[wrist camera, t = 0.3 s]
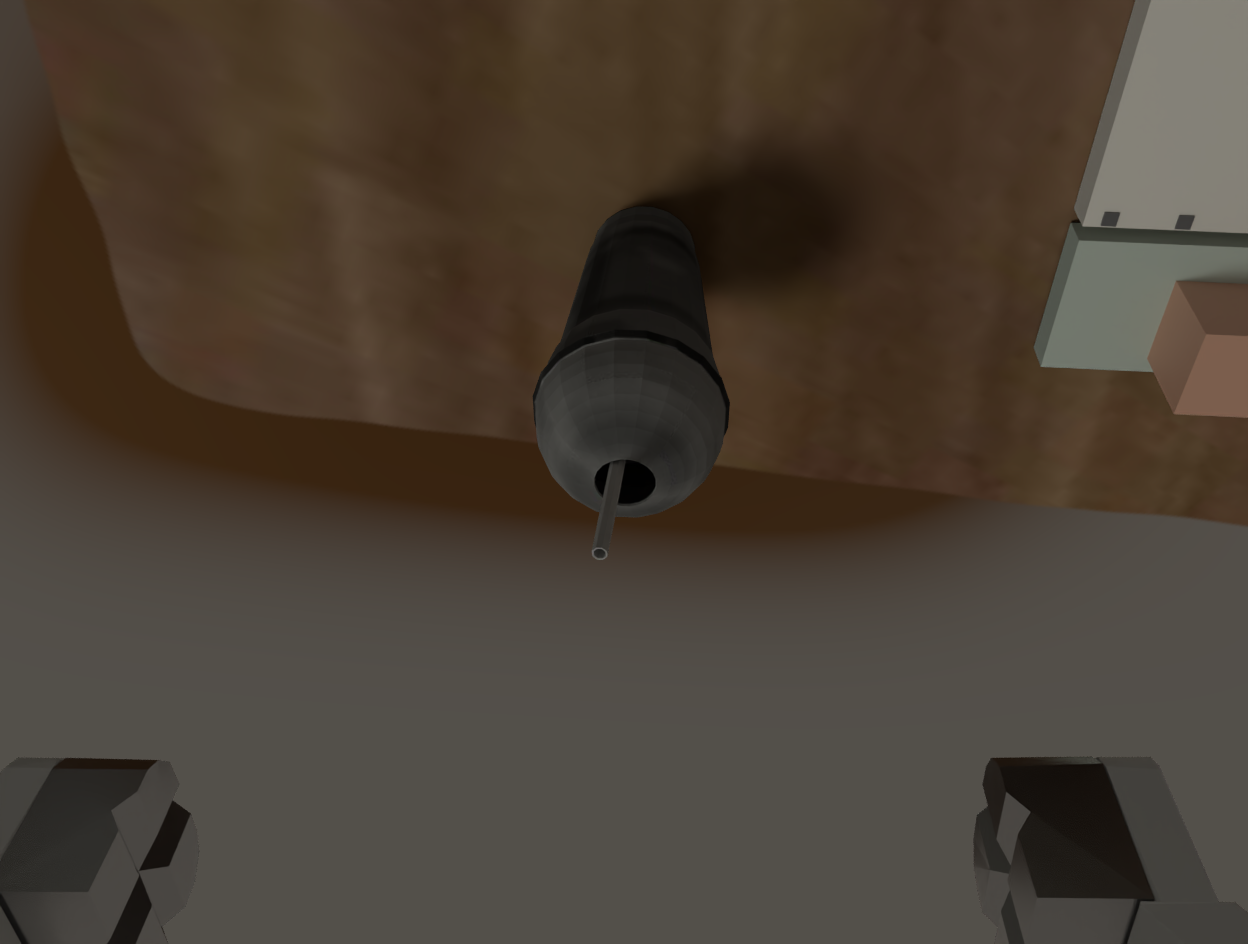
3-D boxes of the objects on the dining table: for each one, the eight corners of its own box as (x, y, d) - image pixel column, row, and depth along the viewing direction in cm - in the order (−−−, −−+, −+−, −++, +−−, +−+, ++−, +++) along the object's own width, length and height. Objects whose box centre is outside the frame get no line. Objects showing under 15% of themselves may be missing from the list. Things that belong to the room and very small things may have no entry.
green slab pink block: (1070, 222, 50) (1103, 292, 46) (1407, 237, 50) (1471, 309, 46) (1033, 347, 54) (1060, 422, 50) (1344, 361, 54) (1397, 438, 50)
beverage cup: (608, 343, 56) (571, 677, 40) (531, 217, 52) (457, 536, 36) (752, 286, 53) (770, 619, 38) (683, 149, 49) (672, 461, 34)
